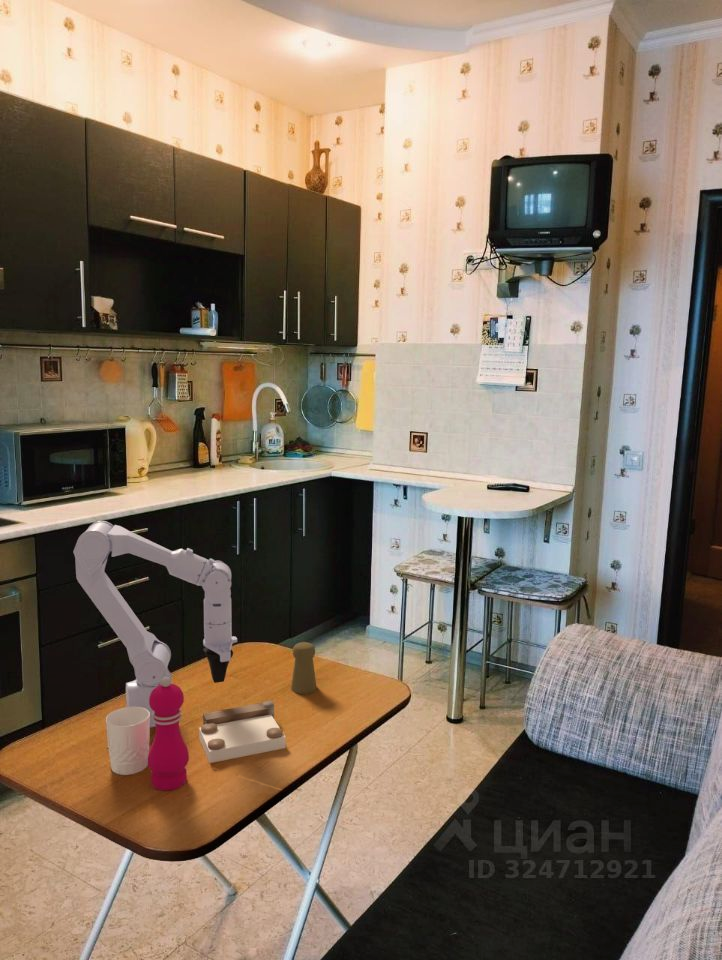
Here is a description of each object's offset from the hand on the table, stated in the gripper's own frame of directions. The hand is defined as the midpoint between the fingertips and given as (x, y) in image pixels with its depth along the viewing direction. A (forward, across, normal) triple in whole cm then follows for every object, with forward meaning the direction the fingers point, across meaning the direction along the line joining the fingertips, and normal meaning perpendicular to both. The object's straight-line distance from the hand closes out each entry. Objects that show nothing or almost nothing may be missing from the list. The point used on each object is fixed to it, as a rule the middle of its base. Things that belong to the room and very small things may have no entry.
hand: (218, 681), depth 159 cm
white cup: (+8, -14, +20) cm, 25 cm away
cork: (+8, +6, -21) cm, 23 cm away
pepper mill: (+8, -22, +14) cm, 27 cm away
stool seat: (+8, -14, -2) cm, 16 cm away
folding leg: (+8, -7, -3) cm, 10 cm away
